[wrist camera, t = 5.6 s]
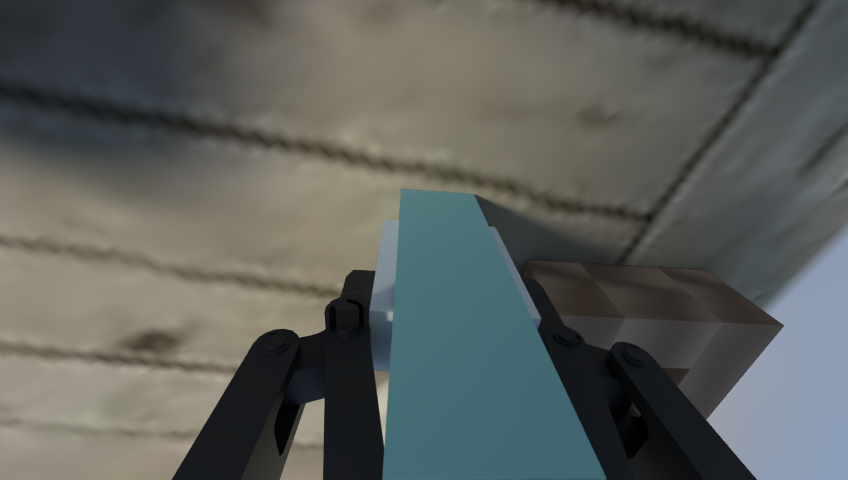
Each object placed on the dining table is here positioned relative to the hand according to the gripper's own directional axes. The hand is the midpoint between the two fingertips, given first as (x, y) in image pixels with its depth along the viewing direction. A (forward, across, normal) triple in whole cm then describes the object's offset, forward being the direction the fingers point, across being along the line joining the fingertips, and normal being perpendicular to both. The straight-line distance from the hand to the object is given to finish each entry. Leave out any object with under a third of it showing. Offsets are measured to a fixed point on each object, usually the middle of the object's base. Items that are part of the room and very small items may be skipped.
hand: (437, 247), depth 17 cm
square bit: (+3, 0, 0) cm, 3 cm away
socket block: (+3, +12, -8) cm, 15 cm away
